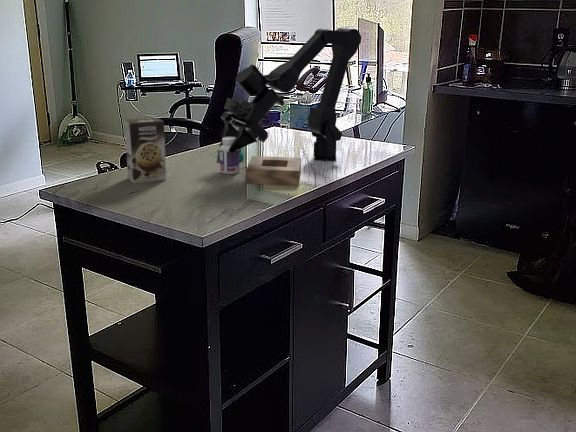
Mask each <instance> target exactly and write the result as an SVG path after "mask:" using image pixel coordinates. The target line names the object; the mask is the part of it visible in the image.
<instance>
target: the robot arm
mask: <svg viewBox="0 0 576 432" xmlns="http://www.w3.org/2000/svg"><path fill="white" fill-rule="evenodd" d="M361 42H362V35H361V33H360V31H359V30H358V29H357V28H350V27H339V28H337V29H335V30H333V29H332V30H331V29H327V28H318V29H317V30H315V31H314V33H313V35H311V37H310V38H309V39H308V40H307V41H306V42H305V43H304V44H303V45H302V46H301V47H300V48H299V49H298V50H297V52H295V54H294V55H292V57H291V58H290V59H289V60H288V61H286V62H284V63H282V64H280V65H278V66H277V67H275V68H273V70H271V71H270V72H269V73H268V74H262V72H261V71H260V70H259V67H257V66H256V65H255V64H252V63H251V64H250V65H249V66H248V67H246V68H244V69H243V70H242V71H239V73H238V74H237V75H236V77H235V82H236V83H237V84H238V85H239V86H240V88H242V90H243V91H244V92H245V93H246V94H247V95H248V97H252V96H254V98H252V100H251V101H250V102H249V101H247V100H244V99H240V100H238V101H237V100H235V99H232V98H229V97H227V99H226V103H225V104H224V106H223V107H224V108H223V109H224V110H227V111H224V112H223V113H222V114H221V116H220V118H221V120H223V122H224V124H225V125H224V126H225V131H224V133H223V136H222V138H223V137H236V139H235V141H234V142H233V144H232V145H231V147H230V148H229V152H230V153H232V152H234V151H236V150H238V149H241V148H243V149H244V147H247V146H249V145H251V144H254V143H258V141H259V142H262V143H266V141H267V139H268V138H269V132H268V131H267V130H266V129H265V128H264V127H263V126H262V125H261V122H262V121H263V120H265V121H267V119H268V118H269V117H268V116H267V115H268V114H269V113H270V111H271V110H272V109H273V108H274V106H276V105H279V106H282V107H283V106H284V105H285V101H284V95H282V94H278V93H277V92H276V91H278V92H281V93H289V92H292V90H293V89H294V87H295V86H296V84H297V83H298V81H299V79H300V76H301V74H302V72H303V71H304V70H305V69H306V67H307V66H308V65H310V63H311V62H312V61H313V60H314V59H315V58H316V57H317V56H318V55H319V54H320V53H321V52H322V50H323V49H325V48H326V46H327V45H329V44H331V51H332V59H331V62H330V66H329V70H328V73H327V76H326V79H325V83H324V87H323V90H322V94H321V97H320V100H319V102H318V104H317V105H316V107H314V106H310V109H309V114H308V117H307V118H306V120H307V127H308V129H309V131H310V132H311V136H312V137H314V138H315V141H313V158H314V160H315V161H337V142H338V141H341V140H342V136H343V133H342V131H340V129H339V128H338V127H337V126H336V125H337V119H338V117H337V111H336V107H337V106H336V105H337V103H338V99H339V97H340V96H339V95H340V92H341V89H342V86H343V82H344V80H345V79H344V78H345V75H346V71H347V70H348V69H347V68H348V65H349V62H350V60H351V59H352V58H353V57H354V56H355V55H356V53H357V52H358V50H359V47H360V45H361ZM222 145H223V143H222V139H221V140H220V143H219V148H220V147H221V146H222Z"/></svg>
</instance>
